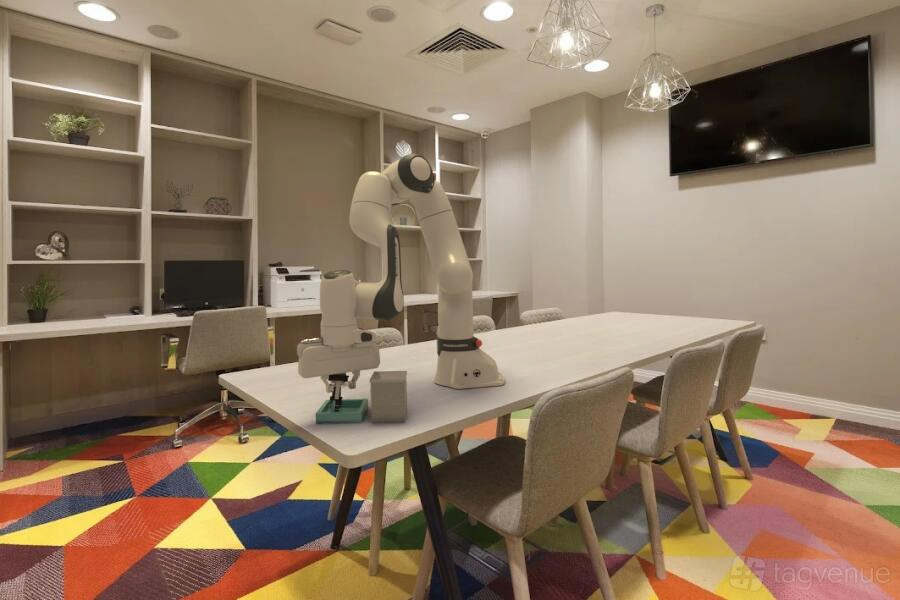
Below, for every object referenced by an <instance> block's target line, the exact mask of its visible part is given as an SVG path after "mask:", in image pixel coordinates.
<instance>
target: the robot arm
mask: <svg viewBox="0 0 900 600" xmlns="http://www.w3.org/2000/svg"><path fill="white" fill-rule="evenodd" d="M435 179H436V177H435V174H434V171H433V167H432V166H431V164H430V162H429V160H428V159H426V157H424V156H423V155H422V154H420V153H414V152H413V153H410V154H409V153H408V154H405V155H403V156H402V157H400V158H399V159H398V160H396V161H393V162H391V164H389V165H388V166H387V167H386V168H385V169H384V170H383V171H382V172H379V171H374V170H373V171H366V172H364V173H363V174H362V175H360V177H359V179H358V181H357V184H356V185H355V188H354V192H353V195H352V199H351V205H350V209H349V210H350V211H349V216H348V217H349V218H348V219H349V220H348V221H349V227H350V228H351V231H352V232H353V233H354V234H355V235H356V236H357V237H358V238H359V239H360V240H363V241H364V242H366V243H368V244H370V245H373V246H376V247H378V248H380V250H381V263H382V265H381V271H382V272H381V273H382V274H381V275H382V277H381V279H380V281H379V282H364V281H362V282H361V281H359V280H356V279H355V277H354V274H353V272H352V271H351V270H348V269H338V270H331V271H328V272H325V273H324V274H322V277H321V280H320V285H319V308H320V312H321V320H320V337H314V338H310V339H308V338H305V339H303V340H301V341H300V342H299V343H298V344H297V346H296V355H297V356H298V365H297V371H298V374H299V376H300V377H302V378H303V379H310V378H317V377H320V379H321V380H322V382H323V384H324V385H325V392H326V393H327V394H330V393H332V392H334V390H333V388H334V384H333V383H329V381H328V379H329V375H333V374H340V373H346V374H347V373H351V374H352V375H353V376H352V378H351V380H348V382H347V383H348V385H347V386H348V389H350V390H354V389H356V388H357V381H358V379H359V378H360V376H361V371H367V370H368V371H369V370H374V369H378V368H379V366H380V365H381V355H380V349H379V348H380V347H379V345H378V343H377V342H375V341H376V339H377V334H376V333H375V332H373V331H370V330H367V329H364V328H361V327H358V321H357V319H360V320H361V319H362V320H376V321H381V322H392V321H394V320H395V319H397V318H398V317H399V316H400V315H401V313H402V312H403V310H404V307H405V306H404V305H405V299H404V290H403V286H402V285H403V284H402V259H401V243H400V240H401V239H400V236H399V232H398V229H397V228H396V227H395V226H394V225H392V221H391V213H392V206H398V205H400V204H401V203H403V202H406V201H409V202H410V204H412V205H413V207H414V210H415V215H416V218H417V221H418V225H419V227H420V231H421V233H422V236H423V240H424V243H425V246H426V248H427V252H428V256H429V260H430V262H431V267H432V270H433V273H434V274H433V275H434V276H435V279H436V283H437V286H438V287H437V290H438V291H437V292H438V293H437V298H438V299H437V323H438V324H437V325H438V326H437V327H438V328H437V333H438V334H437V337H436V353H437V365H436V372H435V376H434V379H433V382H434V383H435V384H437V385H440V386H445V387H448V388H452V389H455V390H460V389H461V390H462V389H463V390H464V389H474V388H484V387H485V388H486V387H498V386H503V385H505V384H506V378H505V376H504V374H502V373H501V372H499V369H498V364H497V362H496V360H495V359H494V358H493V357H492V356H490V354H487V353H486V351H484V350H482V349H481V348H480V347H482V346H483V342H482V340H481V339H480V338H478V337H476V336H474V302H473V301H474V299H473V297H474V296H473V281H474V280H473V279H474V272H473V270H472V266H471V264H470V263H471V262H470V260H469V258H468V254H467V251H466V248H465V245H464V242H463V238H462V236H461V233H460V230H459V229H460V228H459V227H458V223H457V221H456V220H457V219H456V217H455V215H454V214H455V213H454V211H453V208H452V205H451V202H450V200H449V198H448V195H447V193H446V191H445V189H444V188H443V185H442V184H441V183H440V182H439V181H437V180H435Z"/></svg>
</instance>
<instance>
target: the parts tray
mask: <svg viewBox="0 0 900 600" xmlns="http://www.w3.org/2000/svg"><path fill="white" fill-rule="evenodd" d="M329 404H330V399H326V400H324V402H323V403H322V405H320V407H319V408H318V410H317V411H316V412H315V414H314V415H315V424H316V425H320V423H321V424H322V423H330V424H353V423H352V422H362V423H363V421H364V419H363V418H365V417H364V416H366V414H367V413H368V410H369V399H368V398H350V399H349V398H347V399H346V398H345V399H344V398H342V404H341V405H342V408H340V409H339V412H333V411H330V410H331V405H330V408H329ZM340 410H341V411H340ZM350 422H351V423H350ZM322 425H323V424H322Z"/></svg>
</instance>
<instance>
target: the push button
mask: <svg viewBox="0 0 900 600" xmlns="http://www.w3.org/2000/svg"><path fill="white" fill-rule="evenodd" d="M349 378H350V375H347V373H340V374H333V375H329V379H328V380H327V381H328V382H330V384H333V385H334V388H333V390H334V392H331V393H332V394H331V396H329V400H330V404H329V408H330V405H331V410H330V411H333V412H339V409H340V408H342V405H341V404H342V399H343V396H342V384H346V383H348V381H349ZM340 411H341V410H340Z"/></svg>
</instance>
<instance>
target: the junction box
mask: <svg viewBox="0 0 900 600" xmlns="http://www.w3.org/2000/svg"><path fill="white" fill-rule="evenodd" d="M407 375H408V370H384V371H383V370H381V371H380V370H378V371H377V370H376V371H373V373H372V375H371V377H370V379H369V384H370V391H369V392H370V403H371V406H370V407H371V423H372V424H376V423H375V422H394V423H406V420H407V419H406V418H407V416H408V415H407V414H408V395H407V394H408V389H407V386H408V383H407Z"/></svg>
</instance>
